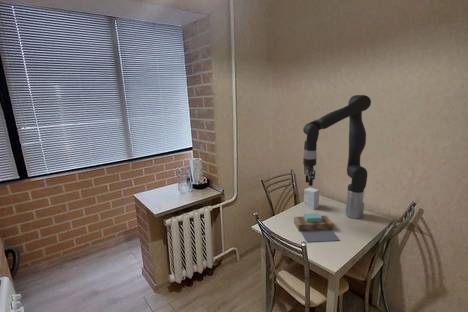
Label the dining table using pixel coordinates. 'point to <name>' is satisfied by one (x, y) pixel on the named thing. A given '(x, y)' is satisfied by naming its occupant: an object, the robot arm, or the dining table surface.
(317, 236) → the mat
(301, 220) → the brown wooden tray
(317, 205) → the small box
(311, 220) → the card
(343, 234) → the dining table surface
